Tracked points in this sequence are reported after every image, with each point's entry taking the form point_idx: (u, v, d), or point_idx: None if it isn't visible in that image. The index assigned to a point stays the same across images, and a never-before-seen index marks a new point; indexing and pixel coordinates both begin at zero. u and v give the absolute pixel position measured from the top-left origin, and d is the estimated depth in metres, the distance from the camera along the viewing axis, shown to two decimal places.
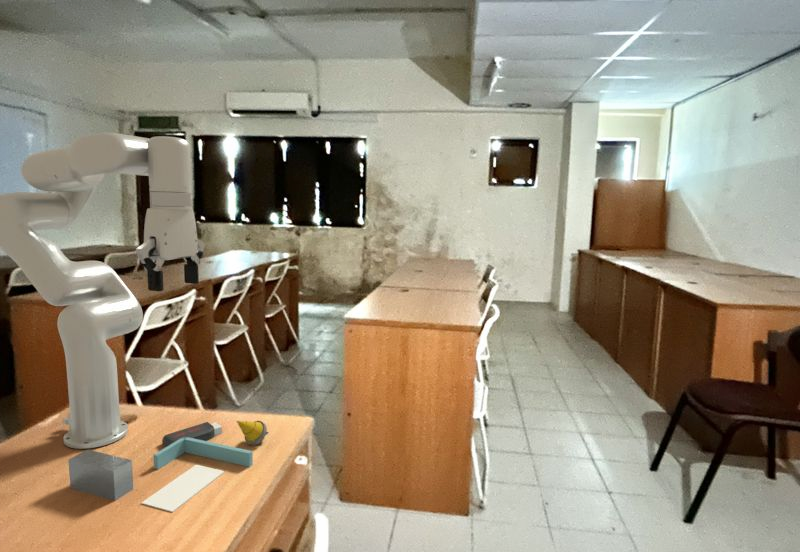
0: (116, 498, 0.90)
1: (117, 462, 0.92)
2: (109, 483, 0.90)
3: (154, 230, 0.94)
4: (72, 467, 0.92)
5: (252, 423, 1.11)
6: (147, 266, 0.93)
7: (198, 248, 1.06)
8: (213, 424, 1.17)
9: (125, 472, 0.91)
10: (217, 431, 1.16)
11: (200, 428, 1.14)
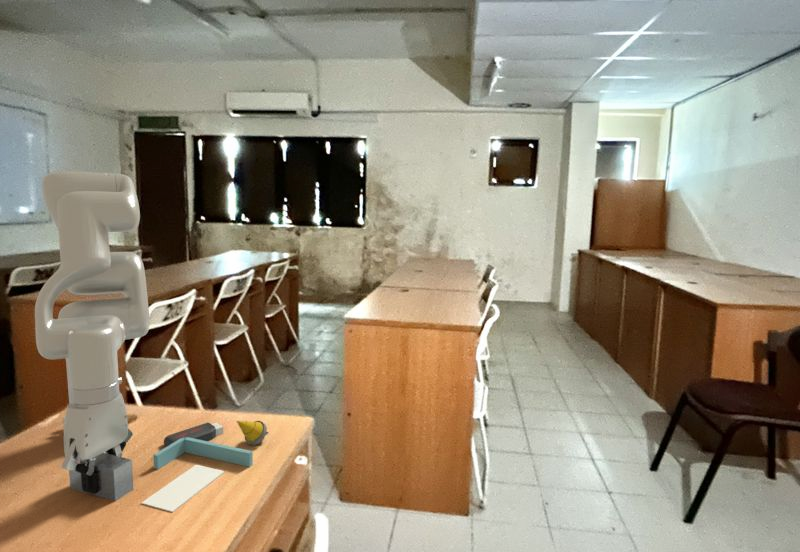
0: (116, 498, 0.90)
1: (117, 461, 0.92)
2: (109, 482, 0.89)
3: (74, 432, 0.86)
4: None
5: (252, 423, 1.11)
6: (79, 472, 0.88)
7: None
8: (214, 424, 1.17)
9: (125, 472, 0.91)
10: (218, 431, 1.16)
11: (201, 429, 1.14)
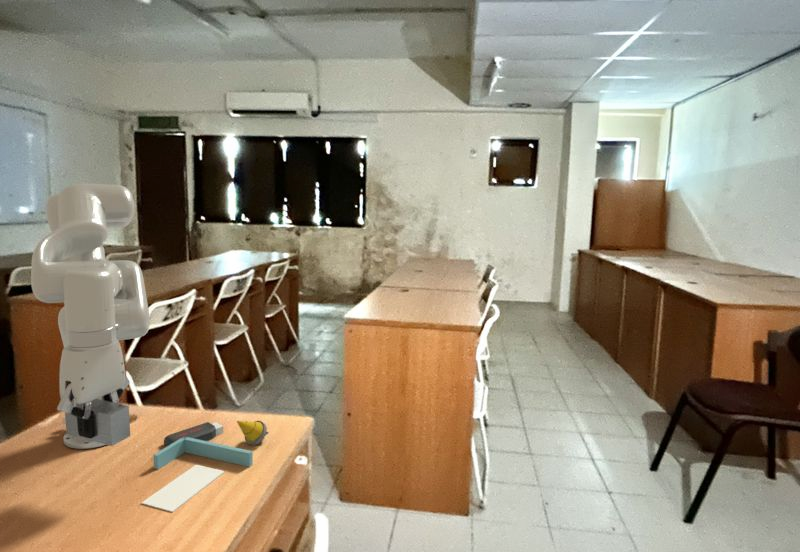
0: (113, 443, 0.89)
1: (113, 407, 0.91)
2: (106, 427, 0.89)
3: (69, 374, 0.85)
4: None
5: (252, 423, 1.11)
6: (75, 415, 0.87)
7: None
8: (214, 424, 1.17)
9: (122, 418, 0.90)
10: (218, 431, 1.16)
11: (201, 428, 1.14)
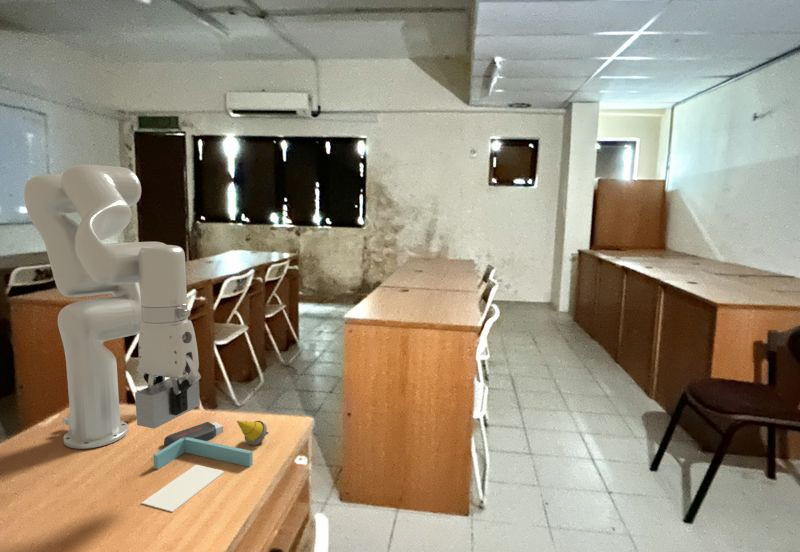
0: (137, 422, 0.87)
1: (154, 390, 0.87)
2: None
3: None
4: None
5: (252, 423, 1.11)
6: None
7: None
8: (213, 423, 1.18)
9: (146, 404, 0.86)
10: (218, 430, 1.16)
11: (202, 428, 1.14)
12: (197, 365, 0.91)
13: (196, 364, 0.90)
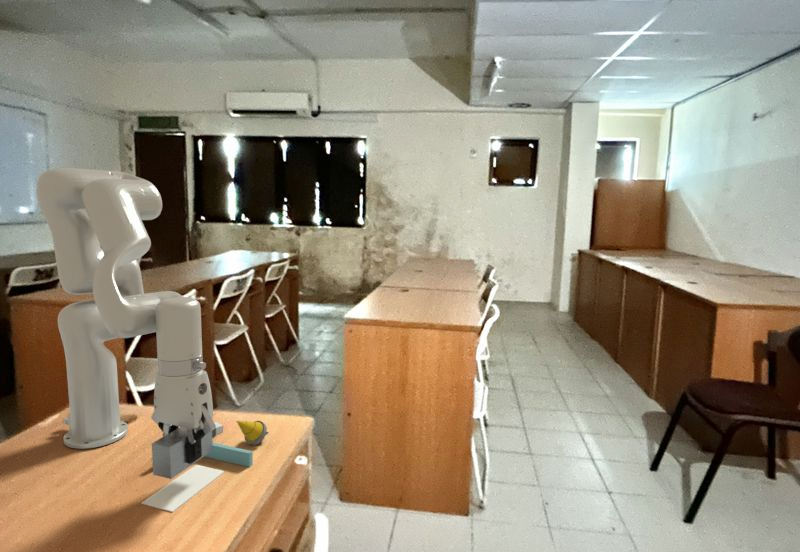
0: (154, 472, 0.89)
1: (170, 441, 0.89)
2: None
3: None
4: None
5: (252, 423, 1.11)
6: None
7: (204, 427, 0.91)
8: None
9: (163, 455, 0.88)
10: (218, 430, 1.16)
11: None
12: (212, 414, 0.93)
13: (211, 413, 0.92)
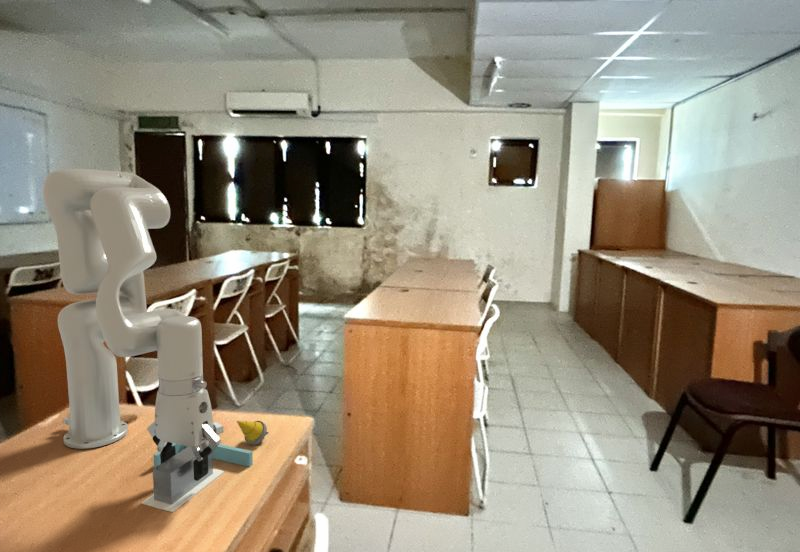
0: (155, 497, 0.90)
1: (171, 466, 0.90)
2: None
3: None
4: None
5: (252, 423, 1.11)
6: None
7: None
8: (213, 423, 1.18)
9: (164, 480, 0.89)
10: (219, 430, 1.16)
11: None
12: None
13: None
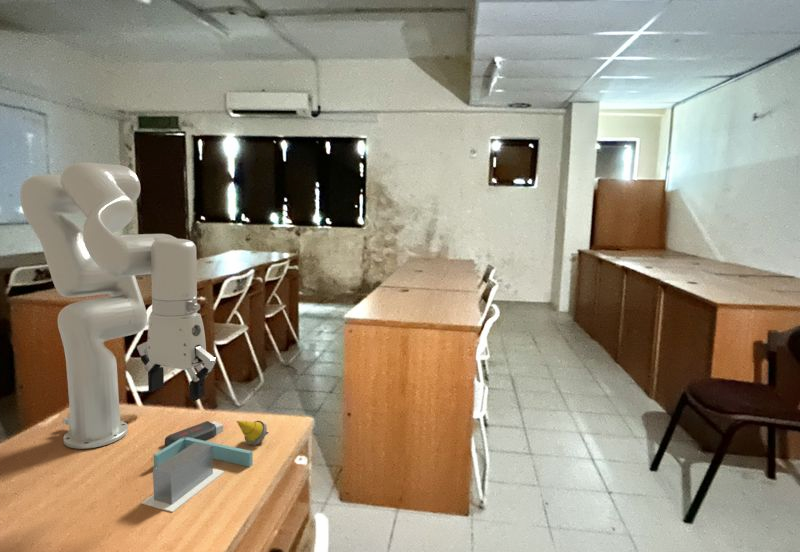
0: (155, 497, 0.90)
1: (171, 466, 0.90)
2: None
3: None
4: None
5: (252, 423, 1.11)
6: None
7: None
8: (213, 423, 1.18)
9: (164, 480, 0.89)
10: (218, 429, 1.16)
11: (202, 427, 1.14)
12: None
13: None
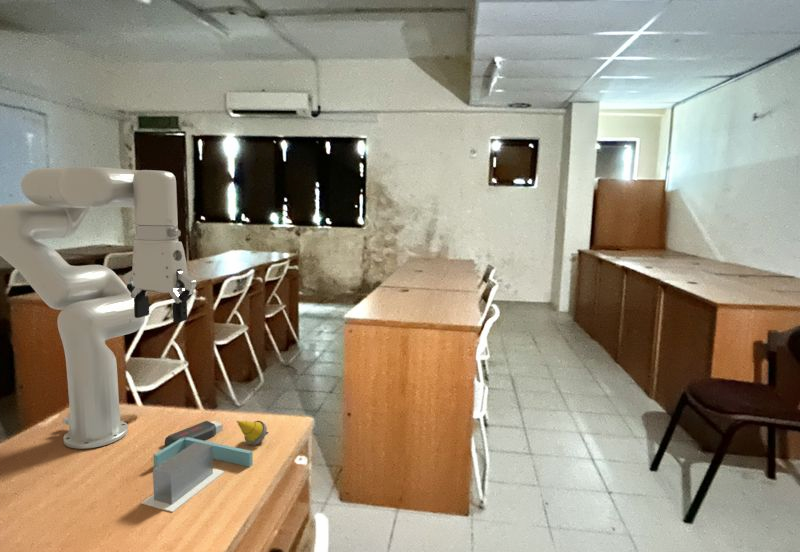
0: (155, 497, 0.90)
1: (171, 466, 0.90)
2: None
3: None
4: None
5: (252, 423, 1.11)
6: None
7: None
8: (212, 422, 1.18)
9: (164, 480, 0.89)
10: (218, 429, 1.17)
11: (202, 427, 1.14)
12: None
13: None
